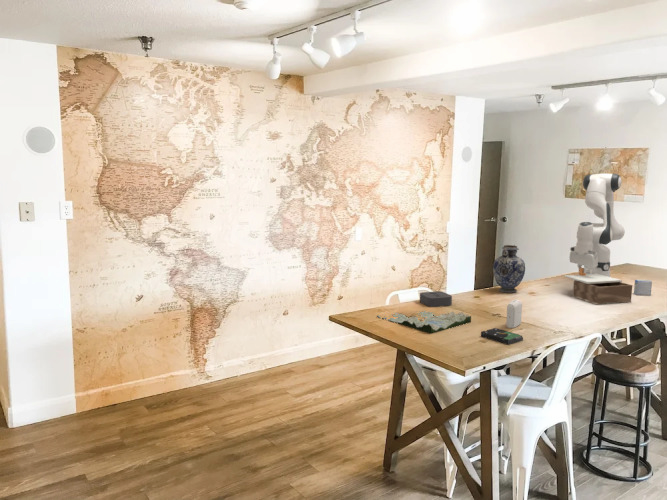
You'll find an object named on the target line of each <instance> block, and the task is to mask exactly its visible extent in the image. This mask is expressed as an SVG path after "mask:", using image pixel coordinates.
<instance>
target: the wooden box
mask: <svg viewBox="0 0 667 500" xmlns="http://www.w3.org/2000/svg"><path fill="white" fill-rule="evenodd" d="M632 292H633V285H632V284H629V283H626V282H625V283H624V282H623V281H622V282H611V283H595V284H587V283H583V282H580V281H576V280H573V289H572V297H573V298H576V299H580V300H583V301H586V302H588V303H592V304H595V305H597V306H598V305H611V304H625V303H627V304H628V303H632V297H633V296H632V294H633V293H632Z"/></svg>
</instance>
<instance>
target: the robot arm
mask: <svg viewBox="0 0 667 500" xmlns="http://www.w3.org/2000/svg"><path fill="white" fill-rule="evenodd" d="M621 185H622V178H621V175H620V174H619V173H606V172H605V173H596V174H594V173H593V174H587V175H585V176H584V177H583V180H582V186H583V189H584V190H585V191H586V192H585V195H584V196H585V197H584V198H585V199H584V202H585V205H586V206H587V208H589V209H591V210H593V213H594V216H596V217H597V218H599V219H601V220H602V221H603V222H601V223H600V222H599V223H598V222H595V223H594V222H590V221H583V222H580V223H578V227H577V230H576V231H577V232H576V239H577V241H576V244H575V246H571V247H569V250H570V253H569V263H572V264H576V265H577V268H578V270H579V269H580V268H584V270H583V273H586V274H600V275H604V276H608V277H611V269H610V268H611V249H610V248H609V247H607V245H608V244H609V243H611V242H613V241H619V240H620V241H621V239H623V237H624V236H625V231H626V230H625V228H624V226H623V225H622V224H620V223H619V222H618V220H617V219H616V218H615V215H614V214H615V213H614V202H615V201H614V193H616V191H618V190H619V189H620V188H621V187H622V186H621Z"/></svg>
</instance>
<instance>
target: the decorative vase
mask: <svg viewBox="0 0 667 500" xmlns="http://www.w3.org/2000/svg"><path fill="white" fill-rule="evenodd" d="M501 249H502V252H501V255H500V256H498V257H497V258H495V259H494V261H493V266H492V271H493V276H494V279H495V283H496V285H498V286H500V288H498V292H501V293H507V294H516V293H517V289H516V288H517V287H519V285H520V284H521V282H522V281H523V279H524V276H525V274H526V273H525V272H526V263H525V261H524V259H522V257H520V256H517V253H518V251H519V250H520V249H519V248H518V246H517V245H515V244H514V245H511V244H506V245H503V246H502V247H501Z"/></svg>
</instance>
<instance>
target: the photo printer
mask: <svg viewBox="0 0 667 500" xmlns="http://www.w3.org/2000/svg"><path fill="white" fill-rule="evenodd" d="M506 306H507V307H506V327H507V328H508V329H515V328H516V327H518V326H520V325H521V324H522V315H523V314H522V312H523V311H522V310H523V309H522V308H523V303H522V301H521V300H519V299H513V300H511V301H510V302H509V303H508V304H507V305H506Z"/></svg>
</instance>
